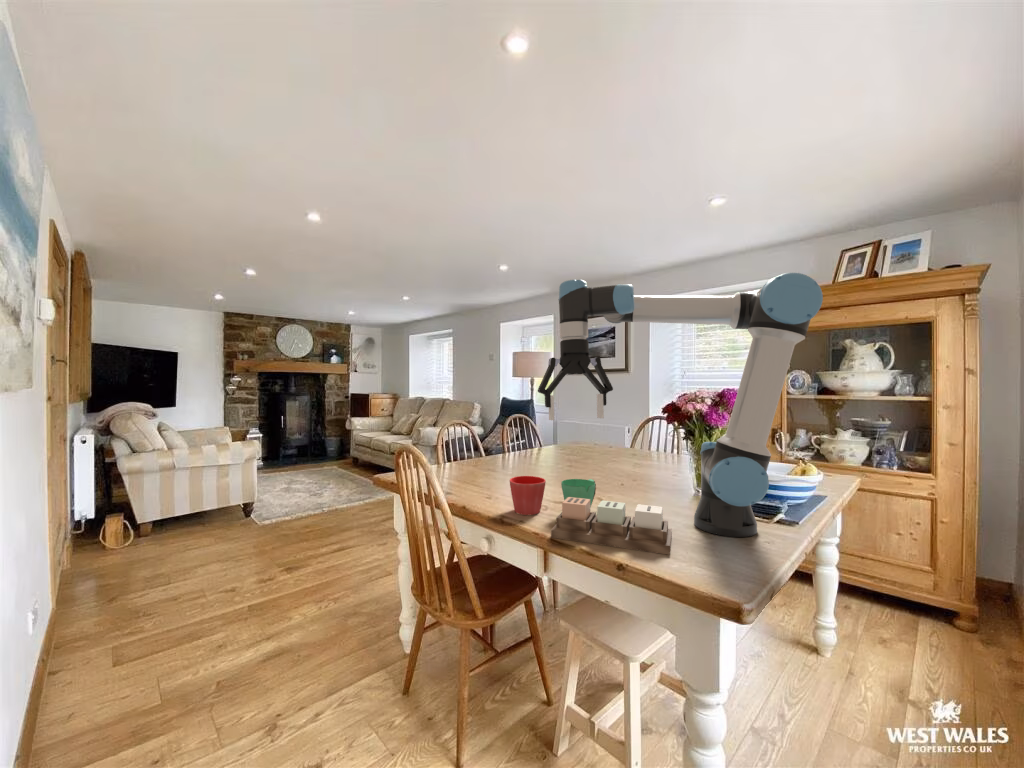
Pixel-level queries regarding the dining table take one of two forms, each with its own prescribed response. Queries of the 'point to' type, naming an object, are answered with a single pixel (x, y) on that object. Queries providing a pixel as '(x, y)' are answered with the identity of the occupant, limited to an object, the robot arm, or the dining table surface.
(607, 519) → the tile
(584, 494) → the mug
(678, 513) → the dining table surface
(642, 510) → the tile
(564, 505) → the tile
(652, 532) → the tile rack
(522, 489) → the flower pot
